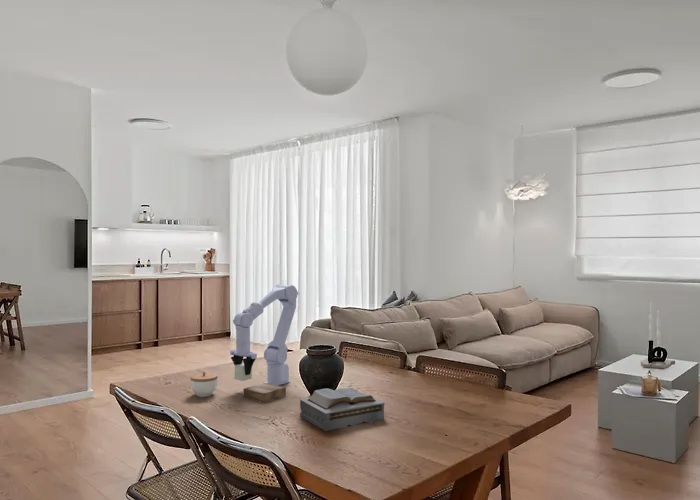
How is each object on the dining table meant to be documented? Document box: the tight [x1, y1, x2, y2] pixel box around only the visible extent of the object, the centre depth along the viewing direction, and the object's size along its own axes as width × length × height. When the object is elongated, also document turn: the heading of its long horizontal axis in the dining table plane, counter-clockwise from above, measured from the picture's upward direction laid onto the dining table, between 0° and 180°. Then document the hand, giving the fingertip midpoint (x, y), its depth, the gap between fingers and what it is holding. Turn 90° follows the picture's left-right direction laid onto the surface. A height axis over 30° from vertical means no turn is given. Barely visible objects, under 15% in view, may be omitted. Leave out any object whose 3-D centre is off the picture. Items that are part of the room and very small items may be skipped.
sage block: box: [234, 362, 253, 382], centre depth 234 cm, size 5×5×6 cm
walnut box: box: [242, 382, 287, 403], centre depth 225 cm, size 12×12×4 cm
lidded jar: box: [190, 371, 218, 398], centre depth 228 cm, size 11×11×9 cm
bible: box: [299, 387, 385, 432], centre depth 197 cm, size 23×27×10 cm
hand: (243, 373), depth 234 cm, fingers closed on sage block, 5 cm apart
